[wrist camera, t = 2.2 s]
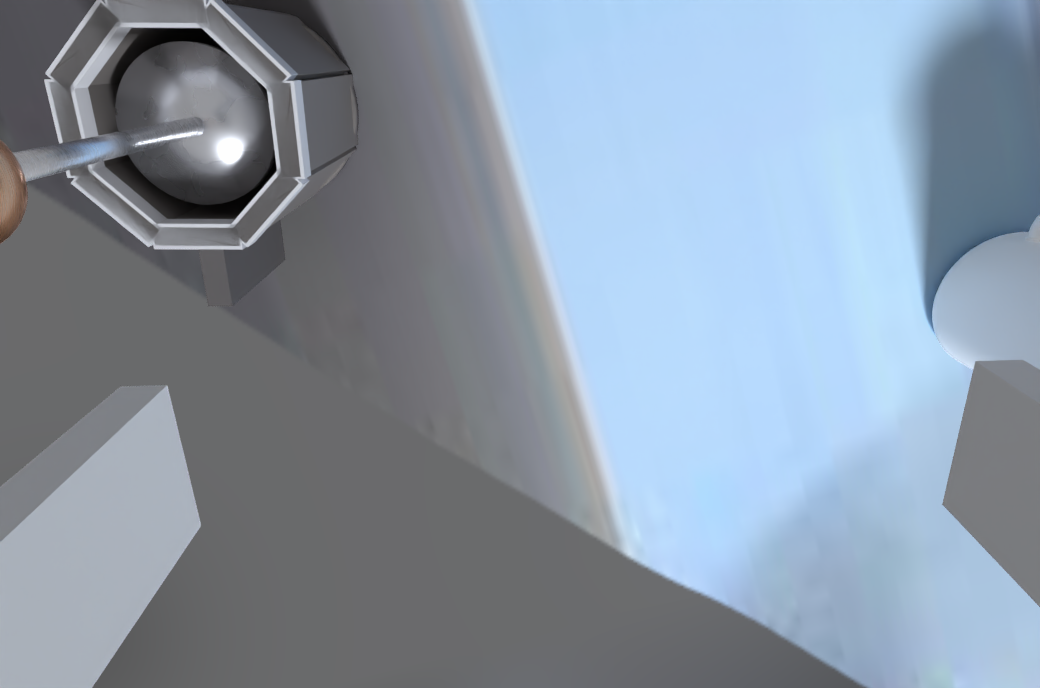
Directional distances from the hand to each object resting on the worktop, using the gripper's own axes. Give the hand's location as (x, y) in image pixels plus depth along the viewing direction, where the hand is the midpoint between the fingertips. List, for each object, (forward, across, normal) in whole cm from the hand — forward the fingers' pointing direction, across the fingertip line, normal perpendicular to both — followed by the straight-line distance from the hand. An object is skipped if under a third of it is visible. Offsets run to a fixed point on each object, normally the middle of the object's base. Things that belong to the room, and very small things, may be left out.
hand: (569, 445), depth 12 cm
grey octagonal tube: (+41, -18, +1) cm, 45 cm away
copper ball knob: (+30, -18, +3) cm, 35 cm away
